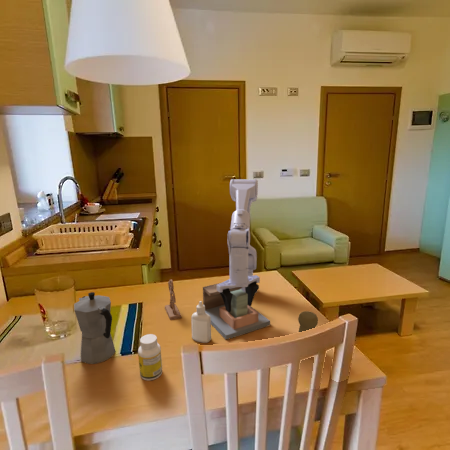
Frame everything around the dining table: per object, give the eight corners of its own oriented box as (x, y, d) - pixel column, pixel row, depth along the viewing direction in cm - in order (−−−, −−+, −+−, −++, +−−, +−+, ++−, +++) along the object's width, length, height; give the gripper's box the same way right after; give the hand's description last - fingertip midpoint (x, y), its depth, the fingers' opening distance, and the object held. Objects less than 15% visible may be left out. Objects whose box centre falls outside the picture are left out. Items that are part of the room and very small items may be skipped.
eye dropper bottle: (200, 346, 87) (199, 307, 84) (190, 337, 91) (188, 300, 89) (213, 340, 90) (212, 303, 87) (202, 332, 94) (201, 295, 91)
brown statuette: (181, 317, 102) (180, 284, 100) (169, 320, 101) (168, 286, 98) (175, 305, 110) (173, 274, 108) (164, 307, 109) (162, 276, 106)
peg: (230, 317, 99) (230, 291, 97) (240, 314, 101) (240, 289, 99) (236, 323, 96) (236, 296, 94) (247, 320, 98) (247, 293, 96)
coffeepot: (70, 351, 85) (61, 291, 81) (102, 336, 92) (96, 280, 88) (97, 377, 75) (89, 310, 71) (131, 358, 82) (126, 296, 78)
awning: (203, 308, 105) (202, 287, 103) (238, 299, 112) (238, 278, 110) (210, 316, 100) (210, 293, 98) (246, 305, 107) (246, 284, 105)
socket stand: (200, 312, 105) (199, 300, 104) (239, 301, 113) (240, 290, 112) (226, 340, 90) (225, 326, 89) (270, 325, 97) (270, 312, 96)
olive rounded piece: (318, 358, 82) (321, 320, 79) (295, 355, 83) (297, 318, 80) (316, 344, 87) (319, 309, 85) (294, 342, 89) (296, 307, 86)
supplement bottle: (142, 366, 79) (139, 332, 77) (163, 365, 79) (161, 331, 77) (138, 382, 74) (135, 345, 71) (161, 380, 74) (158, 344, 72)
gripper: (224, 276, 88) (224, 319, 91) (265, 267, 94) (264, 307, 98) (213, 268, 94) (213, 309, 97) (252, 260, 100) (252, 298, 104)
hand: (238, 307), depth 98 cm, fingers open, 7 cm apart
